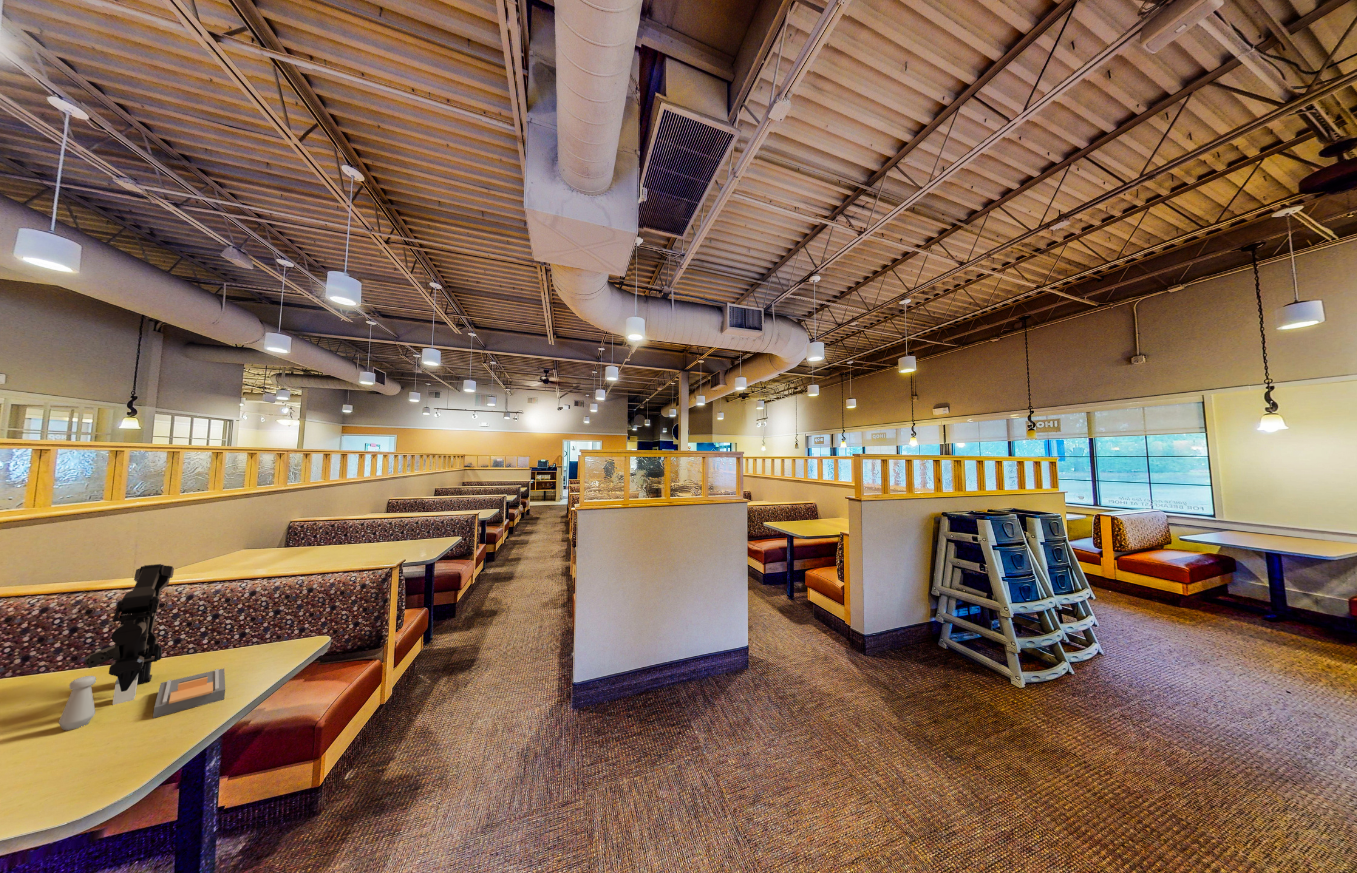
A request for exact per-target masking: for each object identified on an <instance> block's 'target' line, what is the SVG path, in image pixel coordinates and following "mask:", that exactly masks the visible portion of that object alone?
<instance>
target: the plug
mask: <svg viewBox="0 0 1357 873" xmlns="http://www.w3.org/2000/svg"><path fill="white" fill-rule="evenodd" d="M138 674H139V673H138ZM138 674H137V676H136V677H135V679H134V680H133V682H132V684H131V685H130V687H129V688H128V690H127V691H123V692H121V689H120V684H119V680H118V677H117V678H116V681H115V685H114V692H113V699H112V706H113V705H118V704H123V703H126V702H130V701H134V700H135V698H136V694H137V687H138V684H137V681H138Z"/></svg>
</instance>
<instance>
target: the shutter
mask: <svg viewBox="0 0 1357 873" xmlns="http://www.w3.org/2000/svg"><path fill="white" fill-rule="evenodd" d="M207 679H208V677H204V678H200V679H196V680H192V681H187V682H183V683H179V684H178V690H177V691H173V692H171V695H170V700H169V704H170V703H174V702H178V701H182V700H186V699H190V698H194V697H198V696H202V695H205V694H209V693H213V682H210V683H207Z"/></svg>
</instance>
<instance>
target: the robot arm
mask: <svg viewBox="0 0 1357 873" xmlns="http://www.w3.org/2000/svg"><path fill="white" fill-rule="evenodd" d="M174 571H175V569H174V566H173V565H172V566H171V565H165V564H162V563H158V564H147V565H145V564H144V565H143V566H140V568H136V570H135V573H134V578H133V581H134V582H135V585H134V587H133V589H132V590H130V591H128V592H126V593H125V594H124V595H123V597H122V599H121V600H118V602H117V606H116V609H115V612H114V616H113V619H112V623H117V622H120V624H119V626H118V627H117V628H116V629H115V630H114V631H113V633H112V634H111V638H110V639H111V641H112V642H113V643H114V645H111V646H108V647H105V648H103V649H101V650H98V651H96V652H92V653H90V654H88V655H86V657H84V659H83V660H84V662H85V663H84V665H86V666H87V668H88V669H92V668H94V667H96V666H99V665H101V664H102V663H105V662H108V661H110V660H112V661H114V662H112V663H111V665H110V666H109V667H108V668H109V670H108V675H110V676H114V677H117V678H118V680H119V684H120V689H121V692H123V691H127V690H128V688H129V687H130V685H131V684H132V682H133V680H134V679H135V677H136V676H137V674H138V673H139V674H138V681H137V685H140V684H144V683H149V682H151V680H152V677H153V674H151V671H152V670H151V669H152V663H156V662H157V661H160V660H162V653H163V652H162V651H163V647H162V646H161V645H160V643H159V642H158V638H157V636H155V634H154V633H153V631H154V627H155V622H156V621H155V620H156V615H157V612H158V608H159V606H160V605H159V604H160V602H161V601H160V600H161V599H160V596H161V592H162V591H163V590H164V589H165V588H166V587H167V586H168V585H170V581H171V580H170V579H172V578H173V576H174Z"/></svg>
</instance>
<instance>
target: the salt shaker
mask: <svg viewBox="0 0 1357 873" xmlns="http://www.w3.org/2000/svg"><path fill="white" fill-rule="evenodd" d="M96 680H97V677H96V676H94V675H85V676H81V677H78V678H76V679H73V681H71V682H70V683H69V685H68V686H69V689H70V690H71V692H70V695H69V696H68V700H67V701H66V704H65V707H64V708H63V711H62V713H61V716H60V718H59V721H58V725H59V726H60V727H61V729H62V730H63V731H72V729H73V730H76V728H77V729H79V727H80V728H82V727H84V725H85V726H87V725H89V723H90V721H91V720H92V718H94V716H95V715H96V709H95V708H96V707H95V701H94V695H93V689H92V688H93V687H92V686H93V685H95V683H96ZM81 726H82V727H81Z"/></svg>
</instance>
